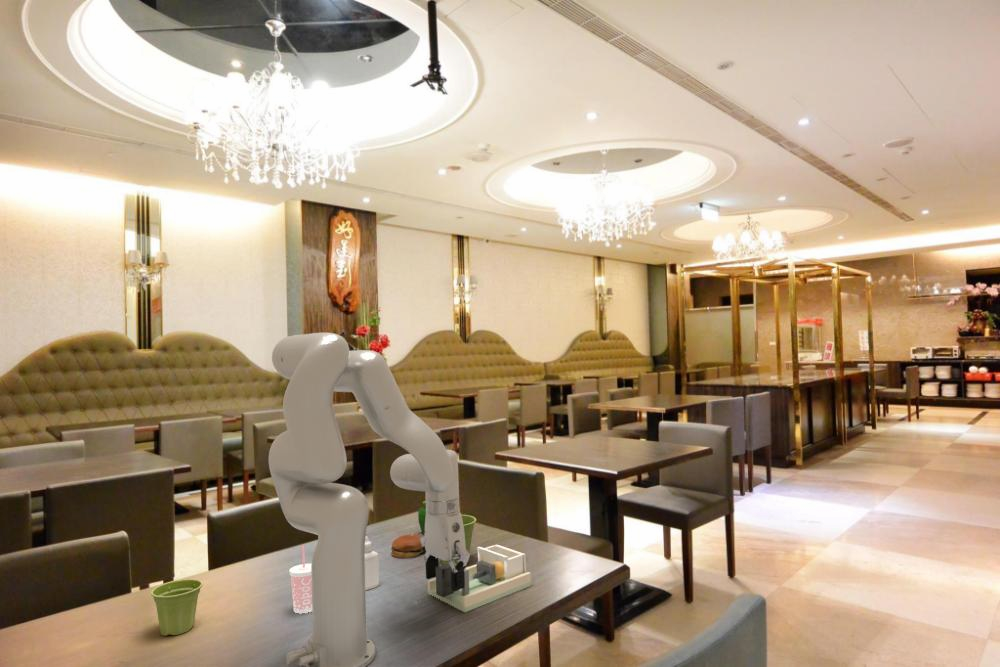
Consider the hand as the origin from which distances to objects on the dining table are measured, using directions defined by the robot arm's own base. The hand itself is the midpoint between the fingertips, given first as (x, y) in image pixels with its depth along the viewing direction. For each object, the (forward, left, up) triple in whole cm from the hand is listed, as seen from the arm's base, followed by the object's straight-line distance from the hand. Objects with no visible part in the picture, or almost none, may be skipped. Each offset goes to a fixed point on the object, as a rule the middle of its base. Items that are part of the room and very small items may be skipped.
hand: (444, 583), depth 128 cm
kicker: (+6, 0, -3) cm, 6 cm away
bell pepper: (+28, +46, -4) cm, 54 cm away
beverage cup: (-24, +20, -4) cm, 32 cm away
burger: (+13, +35, -5) cm, 37 cm away
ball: (+15, 0, -1) cm, 15 cm away
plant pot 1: (-47, +30, -4) cm, 56 cm away
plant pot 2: (+17, +19, -4) cm, 26 cm away
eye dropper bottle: (-8, +21, -4) cm, 23 cm away
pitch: (+10, 0, -4) cm, 11 cm away
